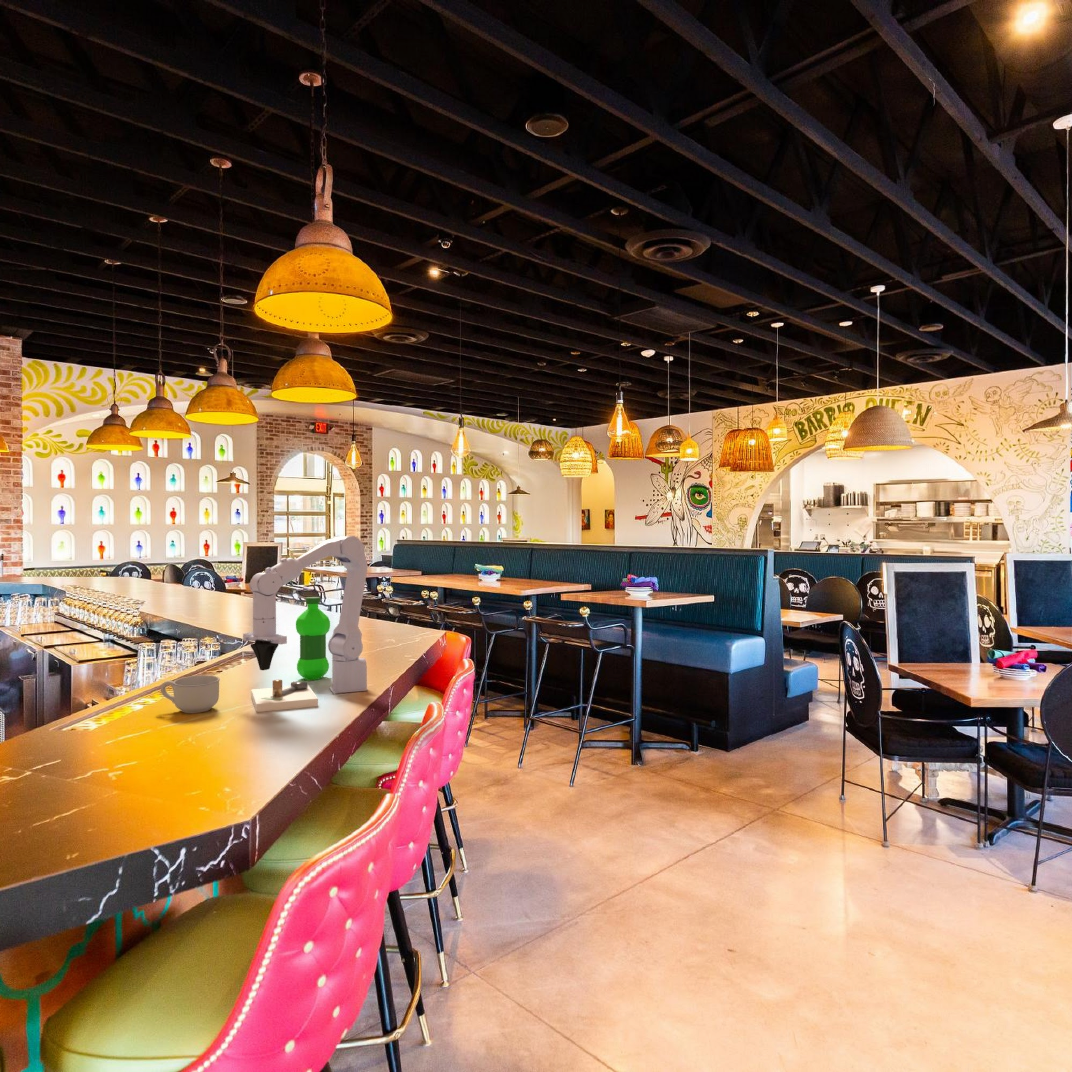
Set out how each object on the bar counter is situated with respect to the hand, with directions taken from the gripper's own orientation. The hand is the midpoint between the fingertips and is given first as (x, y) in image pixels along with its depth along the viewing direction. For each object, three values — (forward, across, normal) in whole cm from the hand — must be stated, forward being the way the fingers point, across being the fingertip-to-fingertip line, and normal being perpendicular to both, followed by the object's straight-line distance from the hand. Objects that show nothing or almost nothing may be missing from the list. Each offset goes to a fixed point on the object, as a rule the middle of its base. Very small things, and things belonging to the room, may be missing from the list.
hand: (264, 669), depth 193 cm
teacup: (+9, -10, -15) cm, 20 cm away
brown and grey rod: (+7, +3, +5) cm, 9 cm away
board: (+9, +3, +4) cm, 10 cm away
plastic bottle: (+9, -14, +30) cm, 35 cm away
